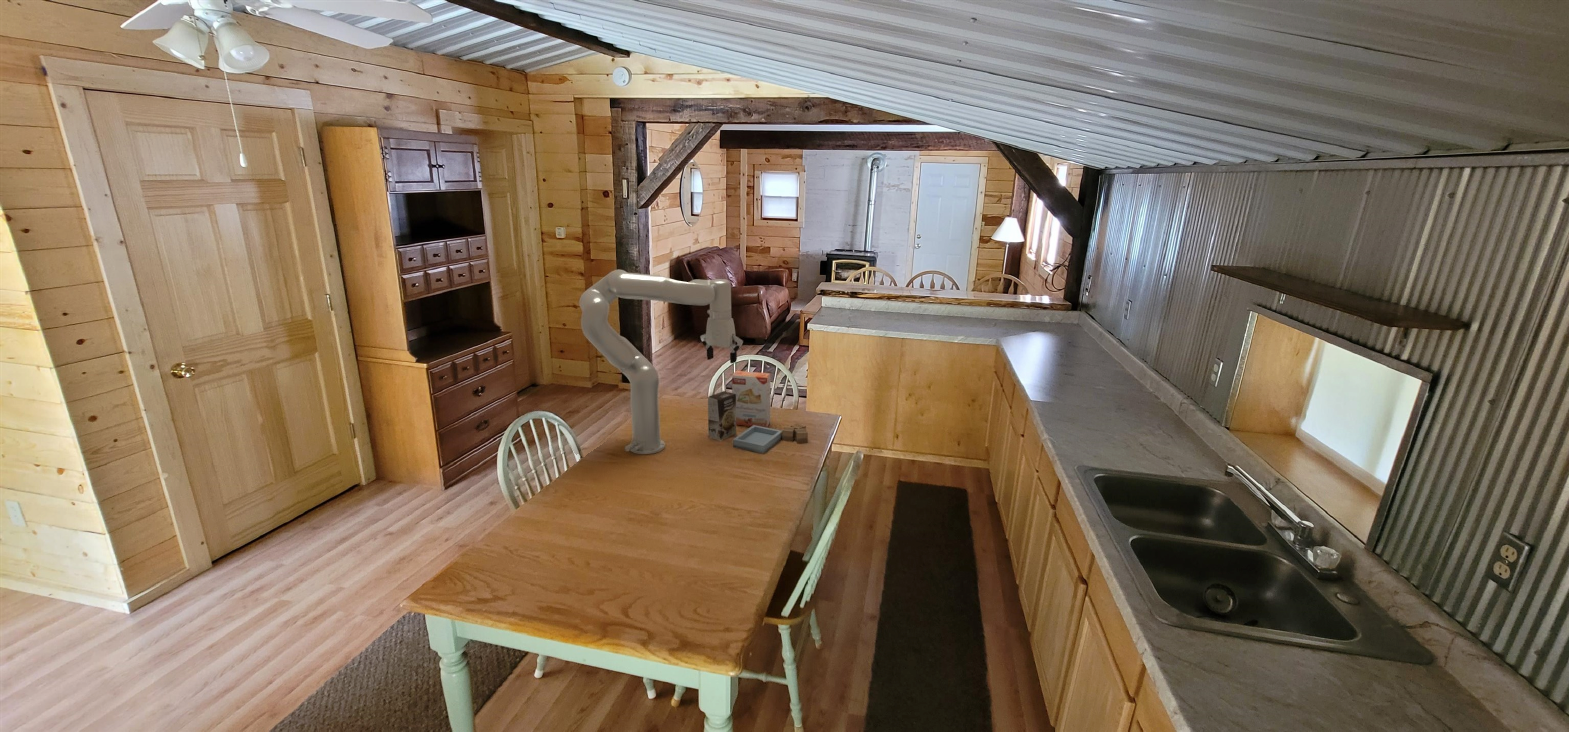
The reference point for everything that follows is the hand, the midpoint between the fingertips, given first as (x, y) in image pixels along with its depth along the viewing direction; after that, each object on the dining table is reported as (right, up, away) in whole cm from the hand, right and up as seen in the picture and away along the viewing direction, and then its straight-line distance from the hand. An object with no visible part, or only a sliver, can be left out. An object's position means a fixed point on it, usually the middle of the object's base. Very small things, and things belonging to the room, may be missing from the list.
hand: (721, 360), depth 234 cm
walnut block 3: (+29, -30, +5) cm, 42 cm away
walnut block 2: (+28, -28, +9) cm, 41 cm away
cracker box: (+10, -25, +20) cm, 33 cm away
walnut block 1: (+24, -29, +6) cm, 38 cm away
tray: (+13, -30, +2) cm, 33 cm away
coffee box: (0, -28, +8) cm, 30 cm away
